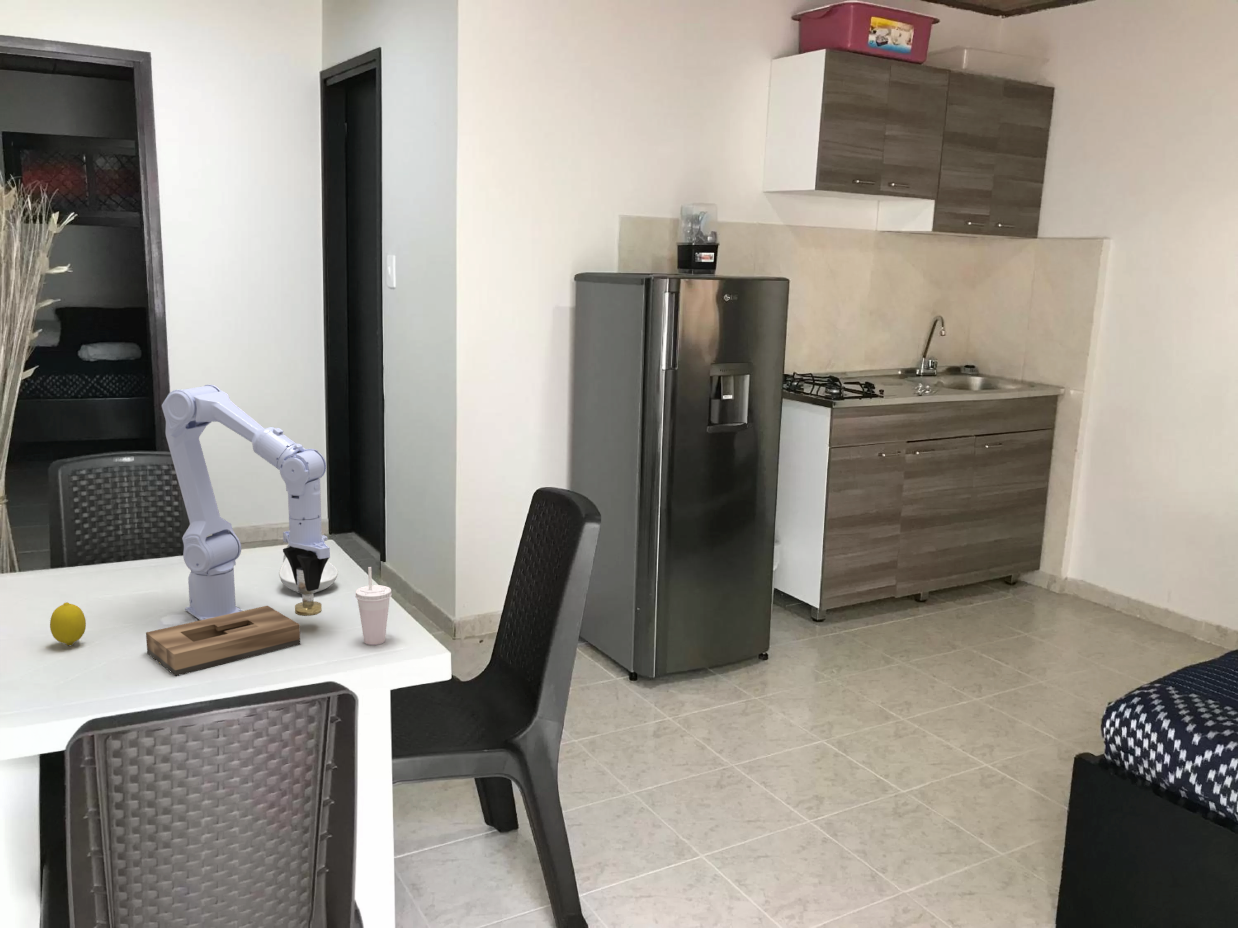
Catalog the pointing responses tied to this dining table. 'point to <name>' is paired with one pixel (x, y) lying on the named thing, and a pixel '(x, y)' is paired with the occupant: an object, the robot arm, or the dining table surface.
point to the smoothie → (373, 610)
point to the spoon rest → (289, 581)
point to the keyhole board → (222, 639)
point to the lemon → (67, 623)
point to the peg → (306, 598)
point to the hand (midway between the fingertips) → (307, 586)
